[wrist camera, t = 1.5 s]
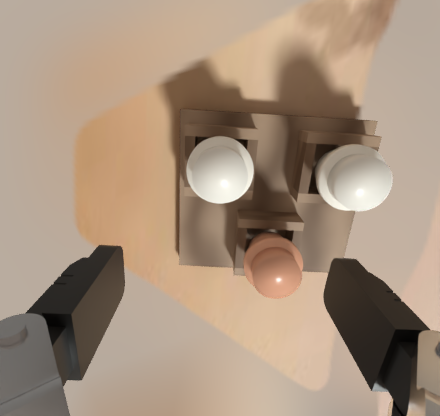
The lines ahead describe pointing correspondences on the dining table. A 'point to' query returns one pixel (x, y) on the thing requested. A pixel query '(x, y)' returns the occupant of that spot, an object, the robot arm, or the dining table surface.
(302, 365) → the dining table surface
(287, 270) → the middle knob
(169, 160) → the dining table surface
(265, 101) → the dining table surface
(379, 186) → the knob
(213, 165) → the knob
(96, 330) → the robot arm
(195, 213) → the mount block
